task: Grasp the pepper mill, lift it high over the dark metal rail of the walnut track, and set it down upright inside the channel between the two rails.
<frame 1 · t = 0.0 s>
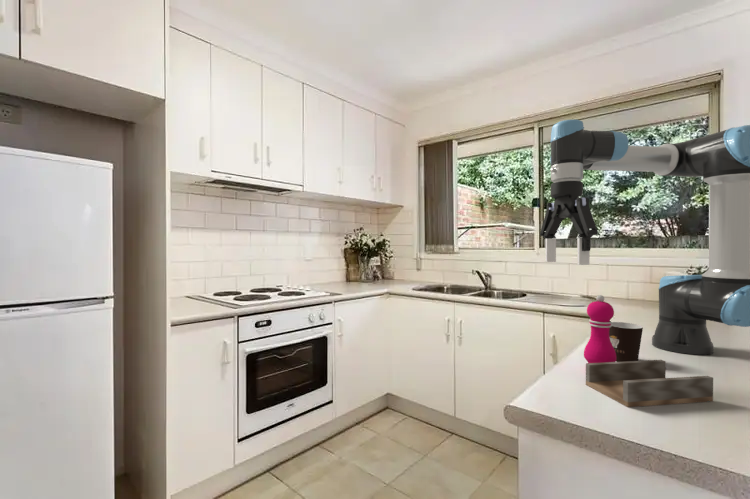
hand: (565, 263, 100), 28 cm above the counter, tool pointing down, fingers open, 13 cm apart
rail track: (645, 392, 85), on the counter
coffee mug: (621, 359, 110), on the counter
pepper mill: (599, 373, 98), on the counter
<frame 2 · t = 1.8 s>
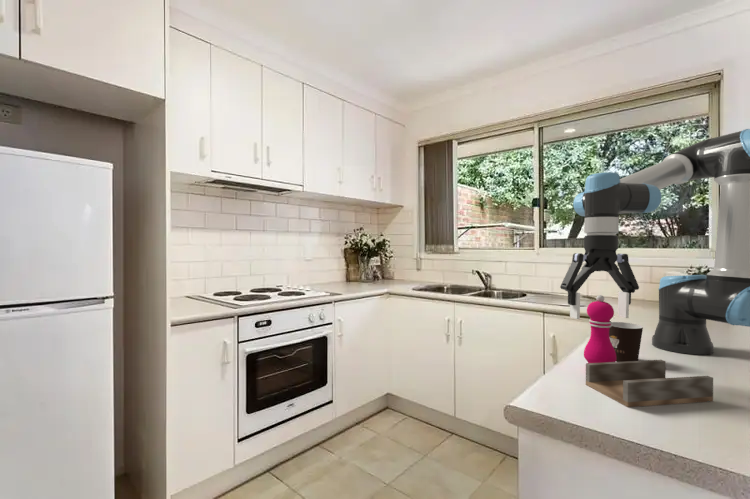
hand: (599, 317, 97), 14 cm above the counter, tool pointing down, fingers open, 13 cm apart
nothing on the counter moved.
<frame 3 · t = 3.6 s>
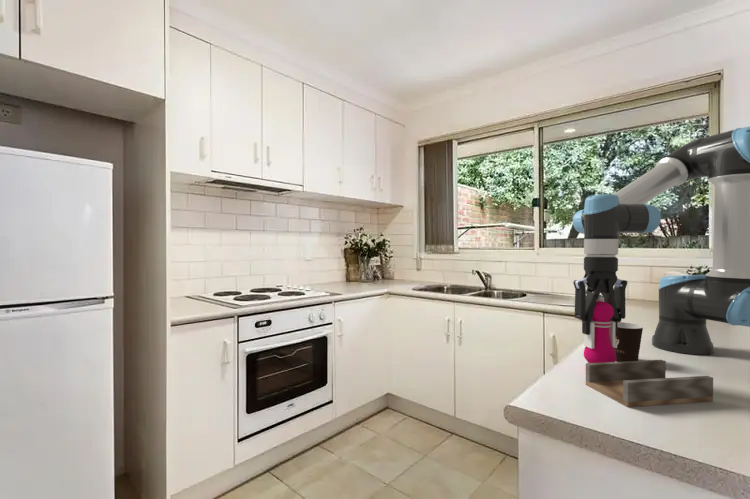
hand: (599, 346, 97), 7 cm above the counter, tool pointing down, fingers closed on pepper mill, 5 cm apart
pepper mill: (599, 373, 98), on the counter, touching gripper
everything else where it was.
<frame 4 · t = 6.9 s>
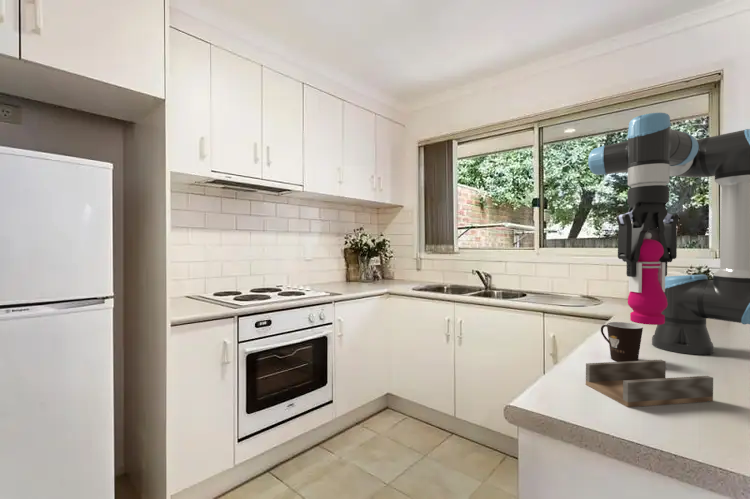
hand: (646, 291, 84), 23 cm above the counter, tool pointing down, fingers closed on pepper mill, 5 cm apart
pepper mill: (647, 322, 85), point 16 cm above the counter, touching gripper
everything else where it was.
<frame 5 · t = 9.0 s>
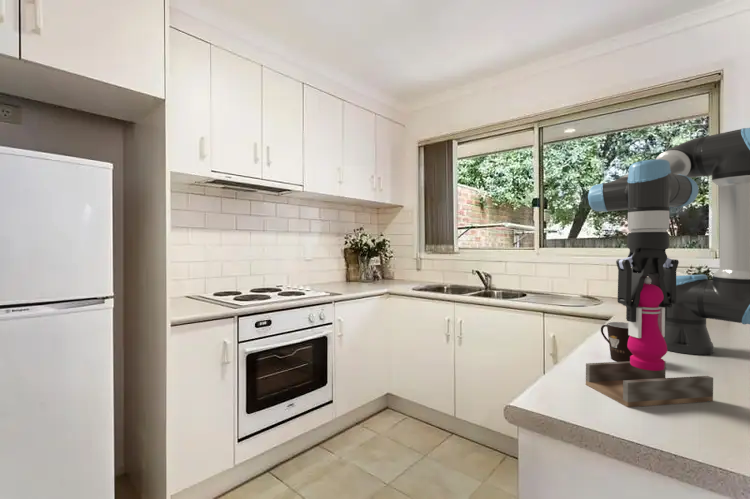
hand: (646, 335, 85), 13 cm above the counter, tool pointing down, fingers closed on pepper mill, 5 cm apart
pepper mill: (646, 367, 85), point 6 cm above the counter, touching gripper
everything else where it was.
when the fingers open (9 cm above the counter, at t = 10.6 s): pepper mill drops 1 cm, resting on rail track.
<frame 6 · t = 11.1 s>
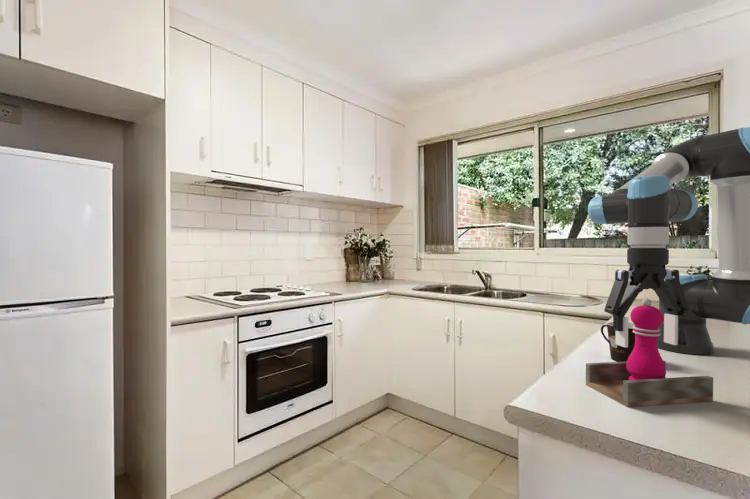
hand: (646, 344, 85), 11 cm above the counter, tool pointing down, fingers open, 11 cm apart
pepper mill: (645, 388, 85), point 1 cm above the counter, touching rail track
everything else where it was.
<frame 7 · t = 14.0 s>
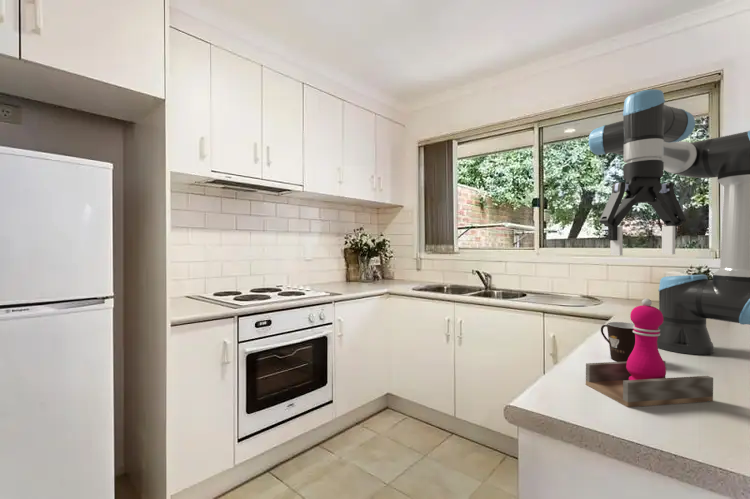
hand: (642, 254, 87), 31 cm above the counter, tool pointing down, fingers open, 13 cm apart
nothing on the counter moved.
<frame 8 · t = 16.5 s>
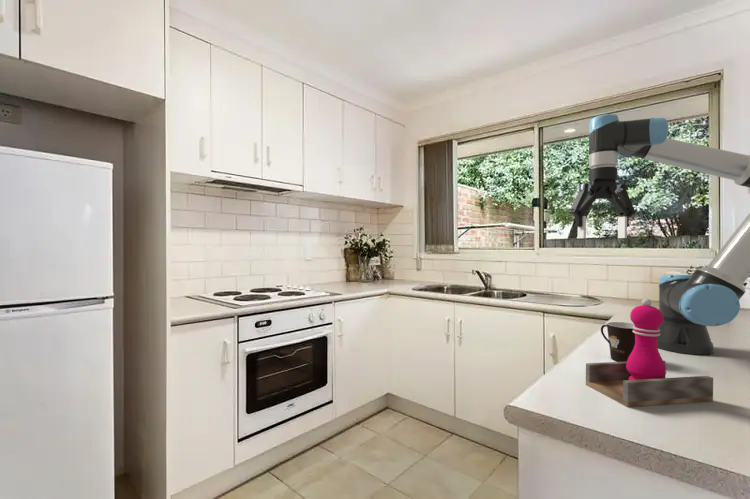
hand: (602, 238, 116), 35 cm above the counter, tool pointing down, fingers open, 13 cm apart
nothing on the counter moved.
at the end: pepper mill inside the target area on the rail track (0.1 cm from its centre), point 0.8 cm above the rail track's base; pepper mill tilted 0°; the gripper is holding nothing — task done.
